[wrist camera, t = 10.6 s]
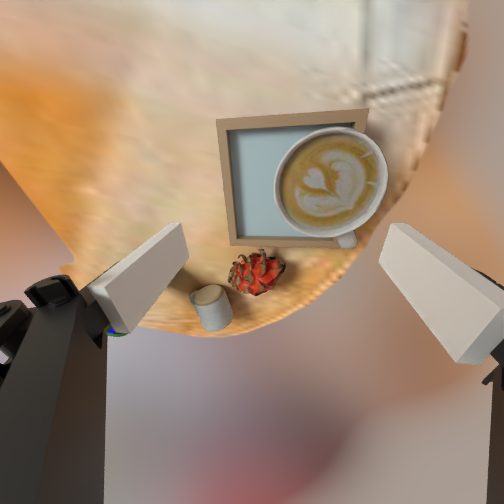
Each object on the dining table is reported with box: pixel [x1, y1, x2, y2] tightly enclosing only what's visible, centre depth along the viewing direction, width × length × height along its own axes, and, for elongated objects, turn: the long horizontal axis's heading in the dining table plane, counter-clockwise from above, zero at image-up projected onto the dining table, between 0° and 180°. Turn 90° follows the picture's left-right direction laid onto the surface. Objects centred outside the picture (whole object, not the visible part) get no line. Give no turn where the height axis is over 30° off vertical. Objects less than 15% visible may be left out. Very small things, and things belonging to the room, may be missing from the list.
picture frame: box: [216, 108, 369, 248], centre depth 30 cm, size 18×18×6 cm
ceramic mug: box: [190, 285, 233, 331], centre depth 44 cm, size 11×8×8 cm
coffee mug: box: [273, 127, 388, 249], centre depth 23 cm, size 13×10×10 cm
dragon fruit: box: [227, 249, 286, 296], centre depth 38 cm, size 8×8×12 cm
